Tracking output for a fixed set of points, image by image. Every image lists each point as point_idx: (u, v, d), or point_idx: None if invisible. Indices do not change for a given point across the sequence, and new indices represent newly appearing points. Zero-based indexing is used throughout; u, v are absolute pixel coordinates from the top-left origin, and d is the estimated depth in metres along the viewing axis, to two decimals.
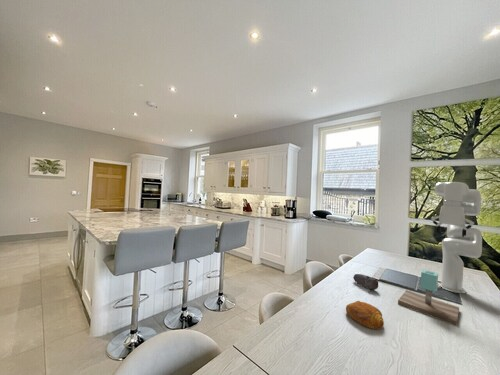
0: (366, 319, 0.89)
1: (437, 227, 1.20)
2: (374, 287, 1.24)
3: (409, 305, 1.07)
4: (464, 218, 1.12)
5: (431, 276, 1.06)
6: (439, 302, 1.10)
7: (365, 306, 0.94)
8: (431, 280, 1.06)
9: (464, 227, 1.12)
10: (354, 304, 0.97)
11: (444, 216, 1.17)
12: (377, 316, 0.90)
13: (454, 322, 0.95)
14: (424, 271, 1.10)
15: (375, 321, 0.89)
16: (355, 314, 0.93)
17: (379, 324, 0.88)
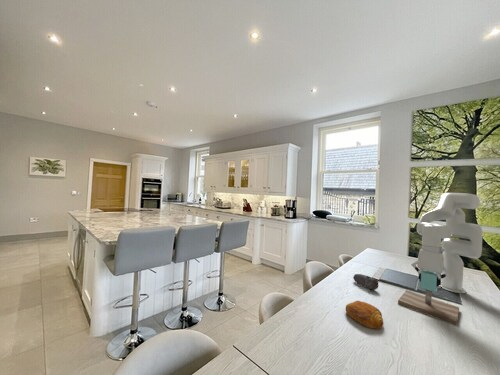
0: (366, 319, 0.89)
1: (419, 274, 1.11)
2: (374, 287, 1.24)
3: (409, 305, 1.07)
4: (443, 265, 1.04)
5: (431, 276, 1.06)
6: (439, 302, 1.10)
7: (365, 306, 0.95)
8: (431, 280, 1.06)
9: (439, 276, 1.05)
10: (353, 303, 0.97)
11: (422, 261, 1.09)
12: (377, 316, 0.90)
13: (454, 322, 0.95)
14: (424, 271, 1.10)
15: (375, 320, 0.89)
16: (355, 314, 0.93)
17: (379, 324, 0.88)
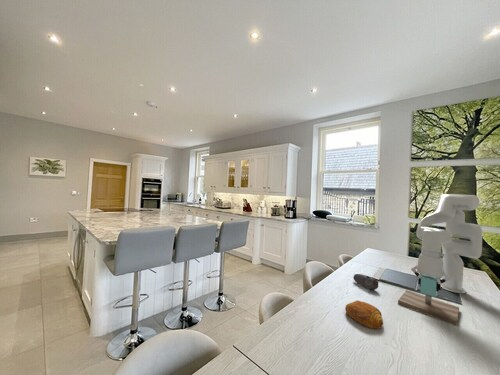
0: (365, 319, 0.90)
1: (419, 279, 1.11)
2: (374, 287, 1.24)
3: (409, 305, 1.07)
4: (442, 270, 1.04)
5: (431, 281, 1.06)
6: (439, 302, 1.10)
7: (365, 306, 0.95)
8: (431, 285, 1.06)
9: (439, 281, 1.05)
10: (353, 303, 0.98)
11: (422, 266, 1.09)
12: (376, 316, 0.91)
13: (454, 322, 0.95)
14: (424, 276, 1.10)
15: (374, 320, 0.89)
16: (354, 314, 0.93)
17: (378, 324, 0.88)
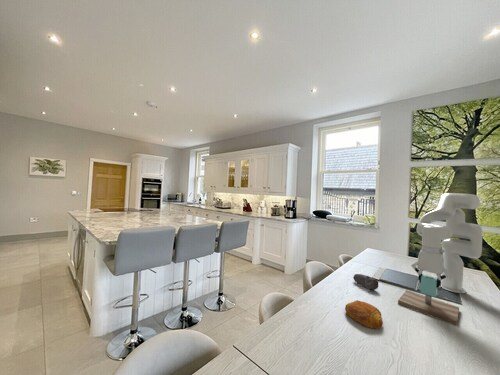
0: (365, 318, 0.90)
1: (419, 275, 1.11)
2: (374, 287, 1.24)
3: (409, 305, 1.07)
4: (443, 266, 1.04)
5: (431, 281, 1.06)
6: (439, 302, 1.10)
7: (365, 305, 0.95)
8: (431, 285, 1.06)
9: (439, 277, 1.05)
10: (353, 303, 0.98)
11: (422, 262, 1.09)
12: (376, 315, 0.91)
13: (454, 322, 0.95)
14: (424, 276, 1.10)
15: (374, 320, 0.89)
16: (354, 313, 0.93)
17: (378, 323, 0.89)
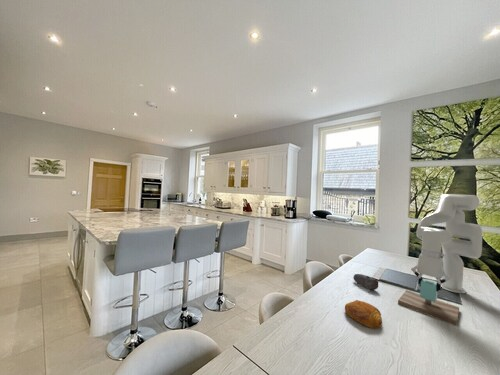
0: (364, 318, 0.90)
1: (418, 279, 1.11)
2: (374, 287, 1.24)
3: (409, 305, 1.07)
4: (442, 270, 1.04)
5: (430, 286, 1.06)
6: (439, 302, 1.10)
7: (364, 305, 0.95)
8: (431, 289, 1.06)
9: (439, 281, 1.05)
10: (352, 303, 0.98)
11: (422, 266, 1.09)
12: (375, 315, 0.91)
13: (454, 322, 0.95)
14: (424, 281, 1.10)
15: (374, 320, 0.89)
16: (354, 313, 0.94)
17: (377, 323, 0.89)
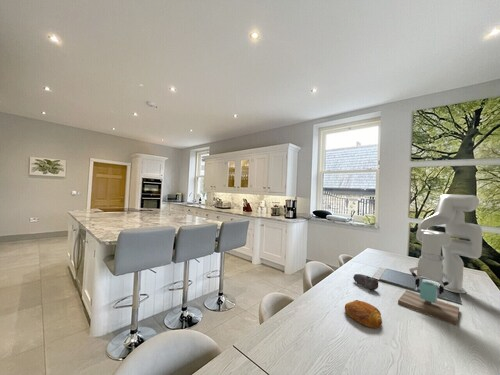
0: (364, 318, 0.90)
1: (416, 280, 1.12)
2: (374, 287, 1.24)
3: (409, 305, 1.07)
4: (442, 273, 1.04)
5: (430, 287, 1.06)
6: (439, 302, 1.10)
7: (364, 305, 0.95)
8: (431, 291, 1.06)
9: (441, 284, 1.04)
10: (352, 303, 0.98)
11: (422, 269, 1.09)
12: (375, 315, 0.91)
13: (454, 322, 0.95)
14: (423, 282, 1.10)
15: (373, 320, 0.89)
16: (353, 313, 0.94)
17: (377, 323, 0.89)
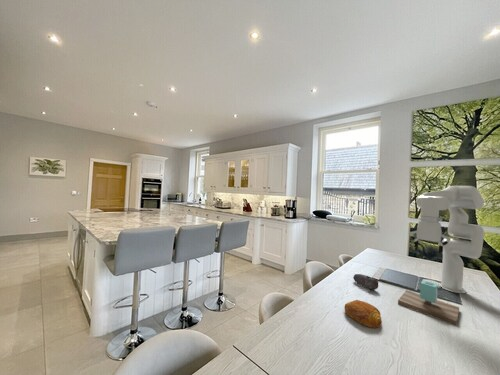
0: (364, 318, 0.90)
1: (415, 242, 1.18)
2: (374, 287, 1.24)
3: (409, 305, 1.07)
4: (441, 234, 1.10)
5: (430, 287, 1.06)
6: (439, 302, 1.10)
7: (364, 305, 0.95)
8: (431, 291, 1.06)
9: (441, 243, 1.09)
10: (352, 302, 0.98)
11: (421, 232, 1.14)
12: (375, 315, 0.91)
13: (454, 322, 0.95)
14: (423, 282, 1.10)
15: (373, 319, 0.89)
16: (353, 313, 0.94)
17: (377, 323, 0.89)
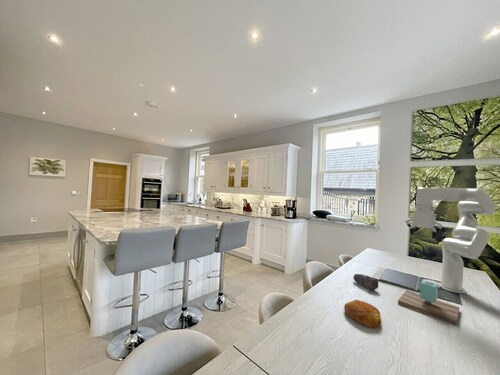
0: (364, 317, 0.90)
1: (410, 229, 1.28)
2: (374, 287, 1.24)
3: (409, 305, 1.07)
4: (434, 221, 1.20)
5: (430, 287, 1.06)
6: (439, 302, 1.10)
7: (363, 305, 0.96)
8: (431, 291, 1.06)
9: (434, 229, 1.20)
10: (352, 302, 0.98)
11: (416, 219, 1.25)
12: (375, 315, 0.91)
13: (454, 322, 0.95)
14: (423, 282, 1.10)
15: (373, 319, 0.90)
16: (353, 312, 0.94)
17: (376, 322, 0.89)
